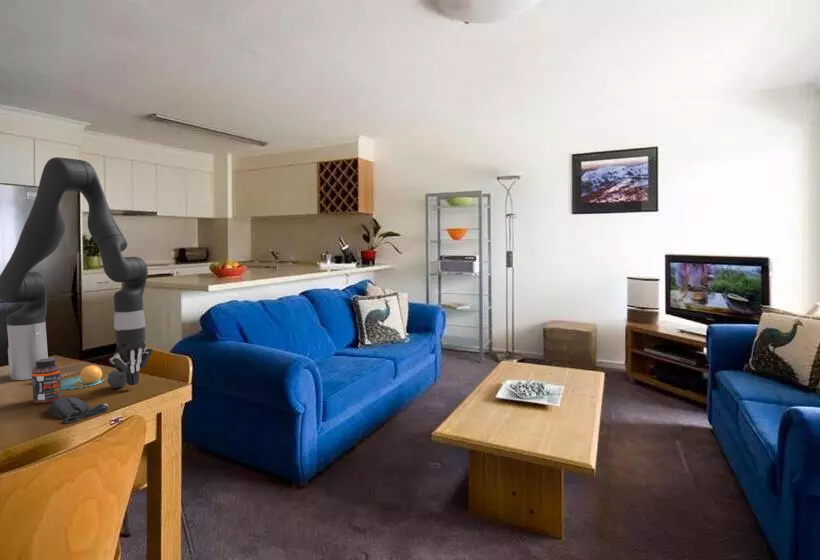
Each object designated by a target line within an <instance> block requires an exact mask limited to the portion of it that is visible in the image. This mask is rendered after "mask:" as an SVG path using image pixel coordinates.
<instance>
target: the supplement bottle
mask: <svg viewBox="0 0 820 560" xmlns="http://www.w3.org/2000/svg"><path fill="white" fill-rule="evenodd" d="M59 367H60V366H59V365H56V358H54V357H48V358H44V359H39V360H37V361H36V368H35V369H33V370H32V379H31V383H32V399H33V402H34V403H35V404H47V403H49V404H50V403H52V402H54V401H55V400H58V399H61V398H62V390H61V378H60V368H59Z"/></svg>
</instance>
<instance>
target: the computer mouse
mask: <svg viewBox="0 0 820 560" xmlns="http://www.w3.org/2000/svg"><path fill="white" fill-rule="evenodd" d="M108 407H109V405H108V403H104V404H101V403H100V404H96V405H93V406H91V407H90V406H89V405H88V404H87V403H86V402H85V401H84V400H81V398H77V397H74V396H67V397H61V398H60V399H58V400H55V401H53V402H50V403H49V406H48V407H47V415H50V416H54V417H57V418H58V419H61V420H62V423H63V424H65V425H69V424H74V423H76V422H78V421H81V420H82V419H84V418H88V417H92V416H96V415H100V414H103V413H105V412H107V411H109V408H108Z"/></svg>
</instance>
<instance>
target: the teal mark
mask: <svg viewBox="0 0 820 560" xmlns="http://www.w3.org/2000/svg"><path fill="white" fill-rule="evenodd" d="M75 377H77V379H76V378H75ZM80 380H81V379H80V375H77V376H73V377H68V378H65V379H62V380H61V391H62V390H63V391H65V390H66V389H70V390H76V389H75V388H76V387H75V386H78V384H81V383H80V382H82V381H80ZM105 380H106V379H105ZM78 381H80V382H79V383H77V385H75V386H74V384H75V383H76V382H78ZM102 381H104V380H102ZM102 381H101V380H99V381H98V382H96V383H93V384H92V385H94V386H97V385H96V384H98V385H100V384H99V383H101V384H103V383H102ZM82 384H83V386H84V385H88V386H90V387H93V386H92V385H91V384H84V383H82ZM80 386H81V385H79V386H78V387H77V388H79V387H80ZM83 386H82V387H83ZM82 387H80V388H79V389H83V388H82ZM85 387H86V386H85ZM86 388H87V387H86ZM66 391H67V390H66Z"/></svg>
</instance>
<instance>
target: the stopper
mask: <svg viewBox="0 0 820 560" xmlns="http://www.w3.org/2000/svg"><path fill="white" fill-rule="evenodd" d="M59 368H60V379H61V377H62V378H64V376H66V377H69V376H72V375H71V374H73V375H75V374H74V373H76V374H78V373H77V372H80V373H81V363H78V362H75V363H72V364H68V365H67V364H66V365H64V366H59ZM68 375H69V376H68Z"/></svg>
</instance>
